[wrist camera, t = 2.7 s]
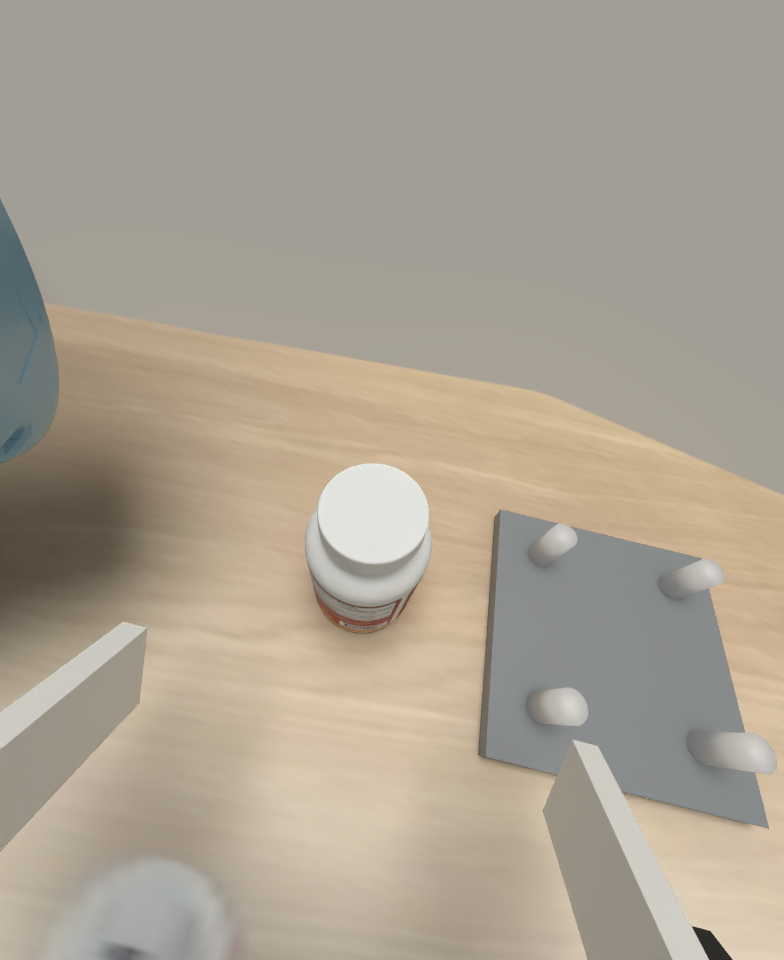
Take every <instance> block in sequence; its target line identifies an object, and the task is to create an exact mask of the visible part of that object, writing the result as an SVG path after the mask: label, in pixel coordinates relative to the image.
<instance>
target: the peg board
mask: <svg viewBox="0 0 784 960" xmlns="http://www.w3.org/2000/svg"><path fill="white" fill-rule="evenodd" d="M724 581H725V573H724V571H723V569H722V568H721V567H720V566H719V565H718V564H717V563H716V562H714V561H712V560H710V559H702V560H701V558H698V557H694V556H690V555H685V554H681V553H677V552H673V551H669V550H665V549H661V548H657V547H652V546H648V545H644V544H640V543H636V542H632V541H628V540H624V539H620V538H615V537H611V536H607V535H603V534H599V533H595V532H591V531H587V530H582V529H578V528H574V527H570V526H568V525H566V524H558V523H554V522H549V521H545V520H541V519H537V518H533V517H529V516H525V515H521V514H517V513H512V512H508V511H504V510H500V511H499V512H498V514H497V515H496V516H495V525H494V539H493V554H492V568H491V583H490V597H489V611H488V626H487V640H486V655H485V669H484V684H483V698H482V712H481V727H480V741H479V755H481V756H484V757H488V758H492V759H496V760H500V761H504V762H508V763H512V764H516V765H520V766H524V767H528V768H531V769H535V770H539V771H543V772H547V773H551V774H555V775H558V773H559V770H560V768H561V766H562V763H563V761H564V758H565V756H566V754H567V751H568V749H569V746H570V744H571V742H572V739H573V740H577V741H580V742H584V743H588V744H592V745H596V746H598V747H599V749H600V751H601V753H602V755H603V757H604V759H605V761H606V763H607V765H608V767H609V768H610V770H611V772H612V774H613V776H614V778H615V780H616V782H617V784H618V786H619V788H620V790H621V791H622V792H626V793H630V794H634V795H638V796H642V797H646V798H650V799H654V800H658V801H662V802H665V803H669V804H673V805H677V806H681V807H685V808H689V809H693V810H697V811H701V812H705V813H709V814H713V815H717V816H721V817H725V818H728V819H732V820H736V821H740V822H744V823H748V824H752V825H756V826H760V827H764V828H768V829H769V826H768V822H767V818H766V814H765V810H764V806H763V802H762V798H761V794H760V790H759V786H758V783H757V779H756V775H755V773H761V774H772V773H774V772H775V771H776V768H777V759H776V755H775V753H774V751H773V749H772V747H771V746H770V745H769V743H768V742H767V741H766V740H765V739H764V738H762V737H761V736H759V735H757V734H754V733H745V731H744V727H743V723H742V719H741V715H740V711H739V707H738V703H737V699H736V695H735V691H734V687H733V683H732V679H731V675H730V671H729V667H728V663H727V659H726V655H725V651H724V647H723V643H722V639H721V635H720V631H719V627H718V623H717V619H716V615H715V611H714V607H713V603H712V599H711V595H710V591H709V588H711V587H714V586H716V585H719V584H722V583H723V582H724Z"/></svg>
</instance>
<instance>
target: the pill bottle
mask: <svg viewBox="0 0 784 960" xmlns="http://www.w3.org/2000/svg"><path fill="white" fill-rule="evenodd" d="M431 548H432V540H431V532H430V528H429V507H428V502H427V499H426V497H425V495H424V493H423V491H422V489H421V488H420V486H419V485H418V484H417V483H416V482H415V480H413V479H412V478H411V477H410V476H409V475H407V474H406V473H404V472H402V471H401V470H399V469H397V468H394V467H391V466H388V465H384V464H360V465H356V466H353V467H350V468H347V469H345V470H343V471H342V472H340V473H339V474H337V475H336V476H335V477H333V478H332V479H331V480H330V481H329V483H328V484H327V485H326V487H325V488H324V490H323V491H322V494H321V496H320V499H319V502H318V508H317V509H316V510H315V512H314V513H313V515H312V517H311V519H310V521H309V524H308V527H307V531H306V536H305V552H306V558H307V563H308V566H309V570H310V574H311V578H312V582H313V586H314V590H315V594H316V598H317V601H318V603H319V605H320V607H321V609H322V611H323V612H324V614H325V615H326V616H327V617H328V618H329V619H330V620H331V621H332V622H333V623H334V624H336V625H337V626H339V627H341V628H343V629H345V630H348V631H352V632H359V633H366V632H373V631H376V630H379V629H382V628H384V627H386V626H387V625H389V624H390V623H391V622H393V621H394V620H395V619H396V618H397V617H398V616H399V615H400V614H401V612H402V611H403V609H404V607H405V606H406V604H407V602H408V600H409V599H410V597H411V595H412V593H413V592H414V590H415V588H416V587H417V585H418V583H419V582H420V580H421V578H422V577H423V575H424V572H425V570H426V568H427V565H428V562H429V559H430V555H431Z"/></svg>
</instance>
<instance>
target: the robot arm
mask: <svg viewBox="0 0 784 960" xmlns="http://www.w3.org/2000/svg"><path fill="white" fill-rule="evenodd" d="M58 393H59V375H58V363H57V356H56V351H55V346H54V340H53V336H52V332H51V328H50V324H49V320H48V316H47V313H46V309H45V306H44V302H43V299H42V296H41V293H40V291H39V288H38V285H37V282H36V279H35V277H34V274H33V271H32V269H31V266H30V263H29V261H28V259H27V256H26V254H25V252H24V249H23V247H22V244H21V242H20V240H19V238H18V235H17V233H16V231H15V229H14V227H13V224H12V222H11V220H10V218H9V216H8V214H7V212H6V210H5V208H4V206H3V204H2V202H1V200H0V463H3V462H6V461H9V460H11V459H14V458H16V457H18V456H20V455H22V454H24V453H25V452H27V451H28V450H29V449H31V448H32V447H33V446H35V445H36V444H37V443H38V442H39V441H40V440H41V439H42V438H43V436H44V435H45V434H46V432H47V431H48V429H49V427H50V425H51V423H52V421H53V418H54V415H55V412H56V408H57V403H58ZM146 636H147V628H146V627H142V626H138V625H134V624H131V623H127V622H122V623H121V624H119V625H118V626H117V627H115V628H114V629H112V630H111V631H110V632H108V633H107V634H106V635H104V636H103V637H102V638H100V639H99V640H98V641H96V642H95V643H93V644H92V645H91V646H89V647H88V648H87V649H85V650H84V651H83V652H81V653H80V654H79V655H77V656H76V657H74V658H73V659H72V660H70V661H69V662H68V663H66V664H65V665H64V666H62V667H61V668H60V669H58V670H57V671H56V672H54V673H53V674H51V675H50V676H49V677H47V678H46V679H45V680H43V681H42V682H41V683H39V684H38V685H37V686H35V687H34V688H32V689H31V690H30V691H28V692H27V693H26V694H24V695H23V696H22V697H20V698H19V699H18V700H16V701H15V702H13V703H12V704H11V705H9V706H8V707H7V708H5V709H4V710H3V711H1V712H0V851H1V850H2V849H3V848H4V847H5V846H6V845H7V844H8V843H9V842H10V841H11V839H12V838H13V837H14V836H15V835H16V834H17V833H18V832H19V831H20V830H21V829H22V828H23V827H24V826H25V825H26V823H27V822H28V821H29V820H30V819H31V818H32V817H33V816H34V815H35V814H36V813H37V812H38V811H39V810H40V808H41V807H42V806H43V805H44V804H45V803H46V802H47V801H48V800H49V799H50V798H51V797H52V796H53V795H54V793H55V792H56V791H57V790H58V789H59V788H60V787H61V786H62V785H63V784H64V783H65V782H66V781H67V780H68V779H69V777H70V776H71V775H72V774H73V773H74V772H75V771H76V770H77V769H78V768H79V767H80V766H81V765H82V764H83V762H84V761H85V760H86V759H87V758H88V757H89V756H90V755H91V754H92V753H93V752H94V751H95V750H96V749H97V747H98V746H99V745H100V744H101V743H102V742H103V741H104V740H105V739H106V738H107V737H108V736H109V735H110V734H111V733H112V731H113V730H114V729H115V728H116V727H117V726H118V725H119V724H120V723H121V722H122V721H123V720H124V719H125V718H126V716H127V715H128V714H129V713H130V712H131V711H132V710H133V709H134V708H135V707H136V706H137V705H138V704H139V700H140V691H141V682H142V673H143V664H144V654H145V645H146ZM543 813H544V817H545V820H546V823H547V826H548V830H549V833H550V836H551V840H552V843H553V846H554V850H555V853H556V856H557V860H558V863H559V866H560V869H561V873H562V876H563V879H564V883H565V886H566V889H567V893H568V896H569V899H570V902H571V906H572V909H573V912H574V916H575V919H576V922H577V926H578V929H579V932H580V936H581V939H582V942H583V945H584V949H585V952H586V955H587V959H588V960H732V958H731V957H730V956H729V955H728V953H727V952H726V951H725V949H724V948H723V947H722V946H721V944H720V943H719V942H718V940H717V939H716V938H715V937H714V935H713V934H712V933H711V931H708V930H704V929H701V928H697V927H693V926H691V924H690V922H689V920H688V918H687V916H686V915H685V913H684V911H683V909H682V907H681V905H680V903H679V901H678V899H677V897H676V895H675V893H674V892H673V890H672V888H671V886H670V884H669V882H668V880H667V878H666V876H665V874H664V872H663V870H662V868H661V867H660V865H659V863H658V861H657V859H656V857H655V855H654V853H653V851H652V849H651V847H650V845H649V843H648V842H647V840H646V838H645V836H644V834H643V832H642V830H641V828H640V826H639V824H638V822H637V820H636V818H635V817H634V815H633V813H632V811H631V809H630V807H629V805H628V803H627V801H626V799H625V797H624V795H623V793H622V792H621V790H620V788H619V786H618V784H617V782H616V780H615V778H614V776H613V774H612V772H611V770H610V768H609V767H608V765H607V763H606V761H605V759H604V757H603V755H602V753H601V751H600V749H599V747H598V746H596V745H592V744H588V743H584V742H580V741H577V740H573V739H572V742H571V744H570V746H569V749H568V751H567V754H566V756H565V758H564V761H563V763H562V766H561V768H560V770H559V773H558V775H557V777H556V780H555V782H554V785H553V787H552V789H551V792H550V794H549V797H548V799H547V801H546V804H545V806H544V809H543Z"/></svg>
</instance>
